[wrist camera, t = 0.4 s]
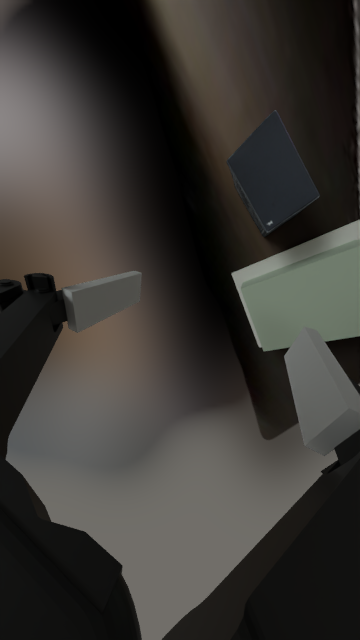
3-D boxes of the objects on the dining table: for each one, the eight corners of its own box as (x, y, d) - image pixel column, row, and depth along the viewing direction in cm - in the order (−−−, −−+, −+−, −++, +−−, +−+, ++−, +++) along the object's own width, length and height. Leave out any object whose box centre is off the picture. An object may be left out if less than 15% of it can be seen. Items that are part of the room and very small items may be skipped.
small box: (303, 211, 27) (325, 195, 18) (263, 238, 31) (266, 236, 22) (271, 150, 26) (278, 103, 17) (233, 186, 29) (223, 162, 21)
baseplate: (232, 273, 35) (231, 273, 34) (361, 218, 25) (365, 217, 24) (259, 345, 39) (259, 347, 38) (381, 323, 29) (385, 325, 28)
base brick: (242, 282, 34) (240, 288, 29) (355, 239, 25) (379, 238, 20) (262, 336, 37) (263, 351, 32) (369, 315, 28) (394, 330, 23)
